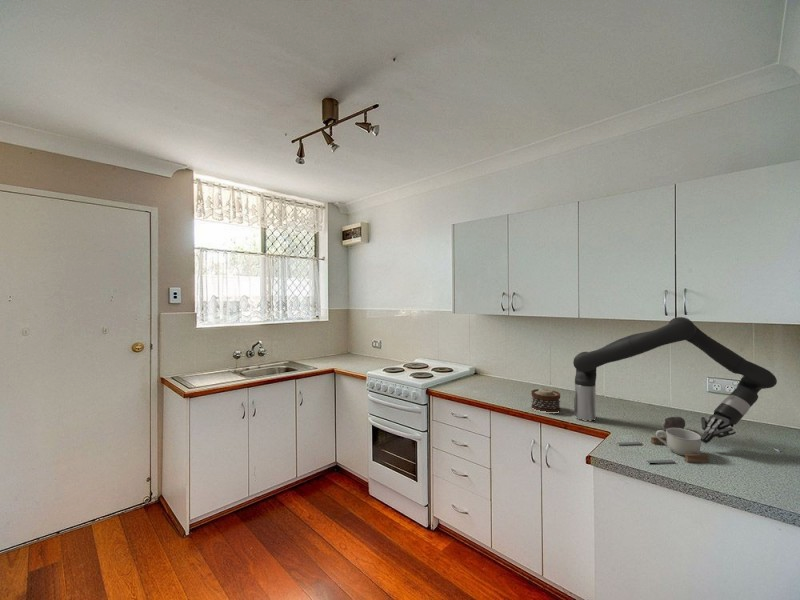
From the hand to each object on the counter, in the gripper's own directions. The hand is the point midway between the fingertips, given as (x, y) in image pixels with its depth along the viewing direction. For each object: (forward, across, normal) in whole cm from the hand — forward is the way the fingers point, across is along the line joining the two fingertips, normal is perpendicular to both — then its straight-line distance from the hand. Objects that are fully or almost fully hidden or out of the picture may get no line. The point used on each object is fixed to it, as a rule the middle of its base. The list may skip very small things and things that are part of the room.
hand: (703, 441), depth 139 cm
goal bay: (+20, 0, -15) cm, 25 cm away
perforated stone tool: (-1, -19, +7) cm, 20 cm away
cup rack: (+10, 0, -5) cm, 11 cm away
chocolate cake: (+30, -54, -24) cm, 66 cm away
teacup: (+10, 0, -5) cm, 11 cm away
